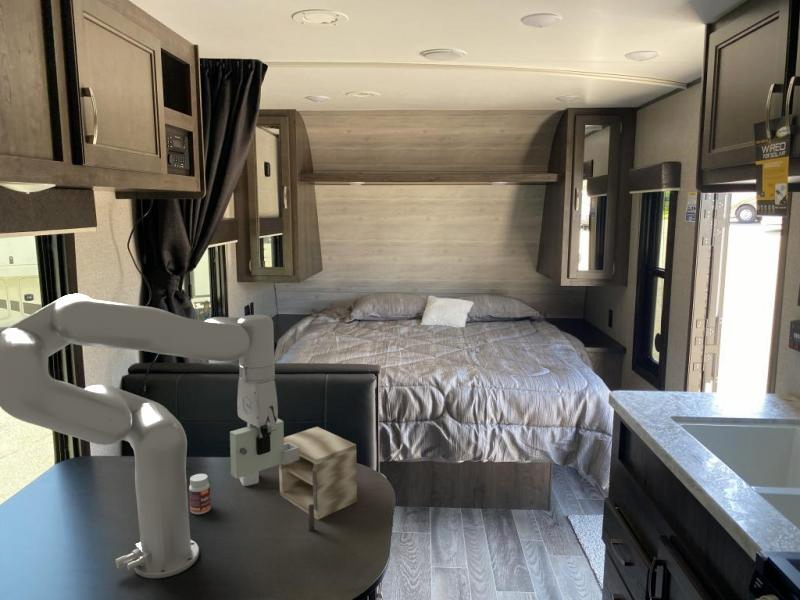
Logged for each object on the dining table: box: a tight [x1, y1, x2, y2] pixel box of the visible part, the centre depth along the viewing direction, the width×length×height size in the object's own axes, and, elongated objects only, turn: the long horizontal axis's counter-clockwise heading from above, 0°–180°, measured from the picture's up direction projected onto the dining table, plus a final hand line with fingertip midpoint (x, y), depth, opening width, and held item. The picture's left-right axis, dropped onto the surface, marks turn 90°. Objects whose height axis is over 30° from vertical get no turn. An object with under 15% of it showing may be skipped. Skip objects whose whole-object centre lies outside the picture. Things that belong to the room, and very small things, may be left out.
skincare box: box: [238, 471, 260, 487], centre depth 152 cm, size 6×4×12 cm
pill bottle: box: [188, 473, 212, 515], centre depth 138 cm, size 5×5×8 cm
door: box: [229, 418, 299, 480], centre depth 129 cm, size 16×4×10 cm, turn 134°
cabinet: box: [278, 426, 358, 533], centre depth 140 cm, size 16×19×15 cm
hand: (259, 450), depth 128 cm, fingers closed on door, 2 cm apart
